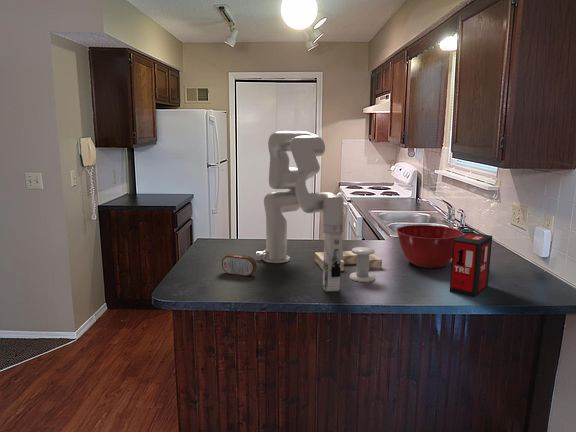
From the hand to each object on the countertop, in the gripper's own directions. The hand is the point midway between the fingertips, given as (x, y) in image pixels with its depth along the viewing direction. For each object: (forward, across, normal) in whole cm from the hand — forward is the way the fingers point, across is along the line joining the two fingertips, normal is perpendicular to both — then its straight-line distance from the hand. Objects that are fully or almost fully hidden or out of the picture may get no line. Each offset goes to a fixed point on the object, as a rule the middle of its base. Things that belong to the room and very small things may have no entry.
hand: (331, 272), depth 170 cm
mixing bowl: (+6, +24, -52) cm, 58 cm away
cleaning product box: (+7, -9, -52) cm, 53 cm away
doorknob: (+6, +10, -16) cm, 20 cm away
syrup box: (+7, 0, 0) cm, 7 cm away
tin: (+6, +23, +33) cm, 41 cm away
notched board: (+6, +29, -16) cm, 34 cm away
